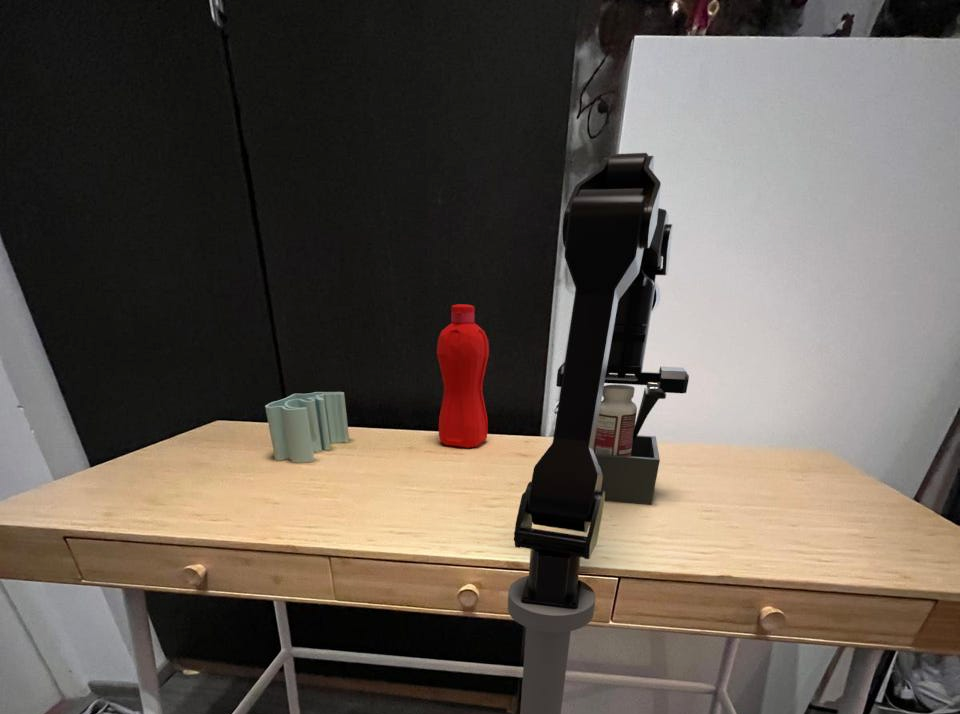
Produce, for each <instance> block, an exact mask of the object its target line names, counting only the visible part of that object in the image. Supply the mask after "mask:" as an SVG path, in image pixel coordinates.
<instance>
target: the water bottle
mask: <svg viewBox="0 0 960 714" xmlns="http://www.w3.org/2000/svg"><path fill="white" fill-rule="evenodd" d="M450 308H451V311H450V313H451V314H450V315H451V317H450V318H451V321H450V322H451V323H450V324H448V325H447V326H445V328H444V329H442V330H441V331H440V334H439V336H438V339H437V347H436V355H437V356H436V357H437V359H438V360H437V361H438V363H439V368H440V373H441V377H442V382H443V396H442V401H441V405H440V406H441V407H440V412H439V418H438V438H439V441H440V442H441V443H442V444H443V445H445V446H450V447H451V446H452V447H459V448H460V447H461V448H466V449H468V448H477V447H478V446H479V445H481V444H482V443H484V442H486V440H487V437H488V435H489V434H488V433H489V429H488V427H489V421H488V420H489V419H488V414H487V410H486V404H485V398H484V394H483V385H484V378H485V373H486V368H487V364H488V360H489V356H490V348H489V347H490V346H489V345H490V344H489V339H488V337H487V335H486V332H485V330H484V329H482V328H481V327H480V326H479V325H478V324H476V323H475V322H476V321H475V312H476V311H475V309H476V308H475V306H474V305H472V304H462V303H461V304H460V303H457V304H453V305H451V307H450Z"/></svg>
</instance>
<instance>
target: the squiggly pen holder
mask: <svg viewBox="0 0 960 714" xmlns="http://www.w3.org/2000/svg"><path fill="white" fill-rule="evenodd" d="M264 407H265V413H266V419H267V424H268V429H269V435H270V440H271V445H272V451H273V457H274V460H275V461H283V460H284V461H285V460H290V461H291V462H292V463H296V464H300V463H301V464H303V463H311V462H314V461H315V456H314V453H319V452H322V451H323V450H324V451H330V450H331V444H334V443H337V444H342V443H346V444H347V443H349V442H350V434H349V425H348V414H347V407H346V397H345V392H343V391H314V392H310V393H292V394H290V395H289V396H287V397H285V398H282V399H279V400H275V401H271V402H269V403H267V404H266V405H264Z"/></svg>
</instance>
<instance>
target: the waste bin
mask: <svg viewBox="0 0 960 714" xmlns="http://www.w3.org/2000/svg"><path fill="white" fill-rule="evenodd" d="M595 456H596V459H597V461H598V464H599V466H600V468H601V471H602V475H603V480H602V486H601V491H605V501H606V502H616V503H617V502H618V503H629V504H641V505H652V503H653V498H654V494H655V487H656V484H657V483H656V482H657V477H658V471H659V467H660V461H661V459H660V458H661V457H660V452H659V447H658V441H657V436H656V435H642V434H641V435H640V434H638V435H637V437H636V439H633V442H632V450H631V456H618V455H604V454H595ZM605 501H604V502H605Z"/></svg>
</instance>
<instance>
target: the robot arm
mask: <svg viewBox="0 0 960 714" xmlns="http://www.w3.org/2000/svg"><path fill="white" fill-rule="evenodd" d="M654 165H655V157H654V155H649V154H648V153H647V152H631V153H611V154H610V155H609V157H604V158H603V159H602V161H601V163H600V166H599V168H598V169H596V170H595V171H594V172H592V173H591V174H590V175H588V176H587V177H585V178H584V179H583V180H581V181H579V182H578V183H577V184H575V186H574V188H573V190H572V192H571V195H570V197H569V198H568V199H569V200H568V201H567V204H566V206H565V209H564V212H563V213H564V214H563V219H562V229H561V230H562V237H561V238H562V244H563V247H564V260H565V262H566V263H565V264H566V265H567V268H568V270H569V274H570V276H571V278H572V282H573V285H574V288H575V291H574V299H573V305H572V313H571V319H570V325H569V332H568V338H567V343H566V344H567V346H566V351H565V358H564V361H563V363H562V364H561V365H560V366H559V368H558V369H557V373H556V385H555V386H556V387H558V388H560V392H559V398H558V404H557V412H556V418H555V424H554V425H555V426H554V431H553V439H552V443H551V444H550V446H549V447H548V448H547V449H546V451H545V452H544V454H543V455H542V456H541V457H540V459H539V460H538V461H537V462H536V463H535V465H534V466H533V471H532V476H531V480H530V481H529V482H528V483H527V485H526V488H525V492H523V493H522V494H521V498H520V502H519V506H518V510H517V515H516V520H515V527H514V533H513V542H514V548H518V549H520V548H523V549H529V550H530V553H529V567H528V575H527V576H528V578H527V581H526V584H525V588H524V591H523V594H522V597H521V602H522V603H525V604H533V605H541V606H550V607H558V608H567V609H577V608H578V603H579V596H580V590H581V581H582V580H581V581H579V580H580V579H579V576H580V567H581V559H582V558H584V559H586V560H590V558H591V556H592V554H593V552H594V550H595V548H596V546H597V544H598V541H599V540H598V539H599V535H600V534H599V533H600V529H601V524H602V517H603V512H604V506H605V491H601V486H602V480H603V475H602V471H601V468H600V466H599V464H598V461H597V459H596V456H595V453H594V451H593V447H594V441H595V435H596V429H597V423H598V417H599V412H600V406H601V401H603V396H602V394H603V388H604V386H605V384H611V385H630V386H632V385H634V386H635V385H636V386H646V387H644V390H643V393H642V398H641V402H640V406H639V410H638V411H637V415H636V420H635V427H634V434H633V439H636V437H637V435H639V433H640V431H641V429H642V427H643V425H644V423H645V421H646V420H647V417H648V416H649V414H650V412H651V411H652V410H653V408H654V407H655V405H656V404H657V402H658V401H659V400H665V399H667V393H668V394H687V390H688V386H689V379H690V375H689V374H688V372H687V370H686V369H685V368H684V367H680V366H660V367H659V370H658V371H644V370H643V368H644V361H645V355H646V349H647V344H648V343H647V342H648V338H649V337H648V336H649V331H650V324H651V323H650V322H651V318H652V317H651V316H652V315H653V313H654V312H655V311H656V310H657V308H658V307H659V305H660V302H661V297H662V296H661V295H662V294H661V288H660V286H659V284H658V282H657V281H656V279H657V276H668V274H669V273H668V272H669V267H670V266H669V265H670V257H671V248H672V238H673V229H674V228H673V226H674V224H673V223H669V221H670V217H669V214H668V212H667V210H666V209H663V208H661V207H659V205H660V195H661V186H662V185H661V183H662V182H661V181H660V179H659V178H658V177H657V176H656V174H655V173H654V170H655V169H654ZM533 525H535V526H541V527H548V528H555V529H561V530H567V531H574V532H581V533H587V535H586V536H585V535H578V534H571V533H566V532H558V531H553V530H546V529H539V528H533Z"/></svg>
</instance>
